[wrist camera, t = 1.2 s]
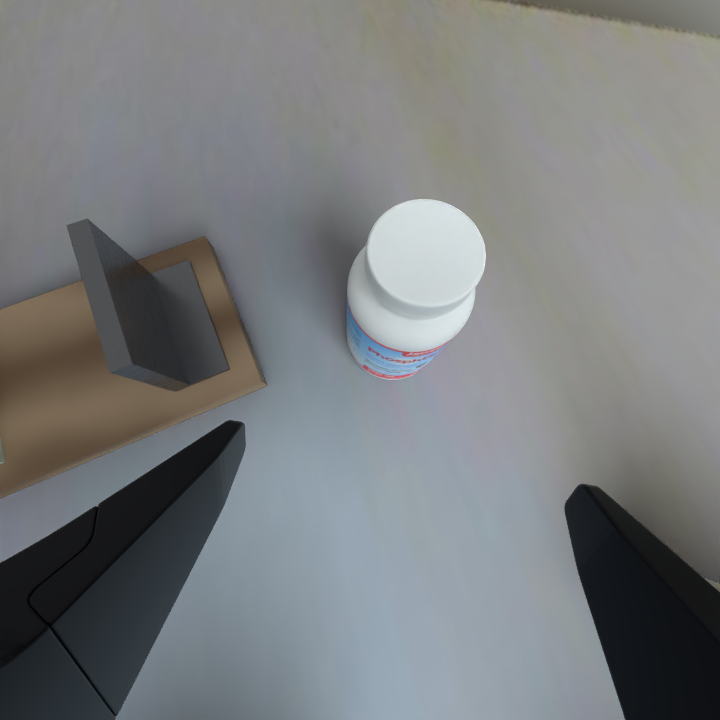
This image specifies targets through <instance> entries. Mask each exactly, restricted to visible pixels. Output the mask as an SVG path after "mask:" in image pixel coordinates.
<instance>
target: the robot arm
mask: <svg viewBox="0 0 720 720" xmlns="http://www.w3.org/2000/svg"><path fill="white" fill-rule="evenodd" d="M245 446H246V441H245V425H244V423H242V422H238V421H233V420H229V421H226V422H225V423H223V424H222V425H220V426H218V427H217V428H215V429H214V430H212V431H211V432H209V433H208V434H206V435H205V436H203V437H201V438H200V439H198V440H197V441H195V442H194V443H192V444H191V445H189V446H188V447H186V448H184V449H183V450H181V451H180V452H178V453H177V454H175V455H174V456H172V457H171V458H169V459H167V460H166V461H164V462H163V463H161V464H160V465H158V466H157V467H155V468H154V469H152V470H150V471H149V472H147V473H146V474H144V475H143V476H141V477H140V478H138V479H137V480H135V481H133V482H132V483H130V484H129V485H127V486H126V487H124V488H123V489H121V490H120V491H118V492H116V493H115V494H113V495H112V496H110V497H109V498H107V499H106V500H104V501H103V502H101V503H100V504H99V505H98V507H97V506H95V507H93V508H92V509H90V510H88V511H87V512H85V513H84V514H82V515H81V516H79V517H78V518H76V519H74V520H73V521H71V522H70V523H68V524H66V525H65V526H63V527H62V528H60V529H58V530H57V531H55V532H53V533H52V534H50V535H49V536H47V537H45V538H43V539H42V540H40V541H38V542H37V543H35V544H33V545H31V546H30V547H28V548H26V549H24V550H23V551H21V552H19V553H17V554H16V555H14V556H12V557H10V558H9V559H7V560H5V561H3V562H1V563H0V720H115V719H116V718H115V716H117V715H118V713H119V711H120V709H121V707H122V705H123V703H124V701H125V699H126V697H127V695H128V693H129V691H130V689H131V688H132V686H133V684H134V682H135V680H136V678H137V676H138V674H139V672H140V670H141V668H142V666H143V664H144V662H145V660H146V658H147V656H148V654H149V652H150V650H151V648H152V646H153V644H154V642H155V640H156V638H157V637H158V635H159V633H160V631H161V629H162V627H163V625H164V623H165V621H166V619H167V617H168V615H169V613H170V611H171V609H172V607H173V605H174V603H175V601H176V599H177V597H178V595H179V593H180V591H181V589H182V587H183V586H184V584H185V582H186V580H187V578H188V576H189V574H190V572H191V570H192V568H193V566H194V564H195V562H196V560H197V558H198V556H199V554H200V552H201V550H202V548H203V546H204V544H205V542H206V540H207V538H208V536H209V535H210V533H211V531H212V529H213V527H214V525H215V523H216V521H217V519H218V517H219V515H220V513H221V511H222V509H223V507H224V504H225V502H226V499H227V497H228V494H229V491H230V489H231V486H232V483H233V481H234V478H235V475H236V473H237V470H238V468H239V465H240V462H241V460H242V457H243V454H244V451H245ZM565 515H566V520H567V525H568V529H569V534H570V539H571V543H572V548H573V552H574V557H575V562H576V566H577V570H578V573H579V576H580V580H581V583H582V586H583V589H584V592H585V596H586V599H587V602H588V605H589V608H590V611H591V614H592V617H593V620H594V624H595V627H596V630H597V633H598V636H599V639H600V642H601V645H602V649H603V652H604V655H605V658H606V661H607V664H608V667H609V670H610V673H611V677H612V680H613V683H614V686H615V689H616V692H617V695H618V698H619V702H620V705H621V708H622V711H623V714H624V717H625V720H720V592H719V591H718V590H717V589H716V588H715V587H713V586H712V585H711V584H710V583H709V582H708V581H707V580H705V579H704V578H703V577H702V576H701V575H700V574H698V573H697V572H696V571H695V570H694V569H693V568H692V567H690V566H689V565H688V564H687V563H686V562H685V561H683V560H682V559H681V558H680V557H679V556H678V555H677V554H675V553H674V552H673V551H672V550H671V549H670V548H668V547H667V546H666V545H665V544H664V543H663V542H661V541H660V540H659V539H658V538H657V537H656V536H655V535H653V534H652V533H651V532H650V531H649V530H648V529H646V528H645V527H644V526H643V525H642V524H641V523H640V522H638V521H637V520H636V519H635V518H634V517H633V516H631V515H630V514H629V513H628V512H627V511H626V510H625V509H623V508H622V507H621V506H620V505H619V504H618V503H616V502H615V501H614V500H613V499H612V498H611V497H609V496H608V495H607V494H606V493H605V492H604V491H603V490H601V489H600V488H599V487H597V486H593V485H588V484H580V485H578V486H577V487H576V489H575V490H574V491H573V493H572V494H571V496H570V497H569V498H568V500H567V501H566V503H565Z"/></svg>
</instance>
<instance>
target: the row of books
mask: <svg viewBox="0 0 720 720" xmlns="http://www.w3.org/2000/svg"><path fill="white" fill-rule="evenodd" d="M4 462H5V458H4V453H3V449H2V444H1V439H0V464H1V463H4Z"/></svg>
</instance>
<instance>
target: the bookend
mask: <svg viewBox="0 0 720 720" xmlns="http://www.w3.org/2000/svg"><path fill="white" fill-rule="evenodd" d="M67 229H68V232H69V235H70V239H71V242H72V246H73V249H74V252H75V256H76V259H77V263H78V266H79V270H80V273H81V276H82V280H83V283H84V287H85V290H86V293H87V297H88V300H89V304H90V307H91V310H92V314H93V317H94V321H95V324H96V327H97V331H98V334H99V338H100V341H101V345H102V348H103V351H104V355H105V358H106V362H107V365H108V368H109V372H110V373H112V374H116V375H119V376H123V377H126V378H129V379H133V380H136V381H140V382H143V383H146V384H150V385H153V386H156V387H160V388H163V389H167V390H170V391H173V392H177V391H179V390H182V389H184V388H187V387H189V386H192V385H194V384H197V383H199V382H201V381H204V380H206V379H209V378H211V377H214V376H216V375H218V374H221V373H223V372H226V371H228V370H230V367H229V364H228V362H227V359H226V356H225V353H224V351H223V348H222V345H221V343H220V340H219V337H218V335H217V332H216V329H215V327H214V324H213V321H212V318H211V316H210V313H209V310H208V308H207V305H206V302H205V300H204V297H203V294H202V292H201V289H200V286H199V283H198V281H197V278H196V275H195V273H194V270H193V267H192V265H191V262H190V261H189V260H187V261H185V262H182V263H179V264H176V265H174V266H171V267H168V268H165V269H163V270H160V271H157V272H154V273H152V274H151V273H150V272H149V271H148V270H147V269H145V268H144V267H143V266H142V265H141V264H140V263H138V262H137V261H136V260H135V259H134V258H133V257H131V256H130V255H129V254H128V253H127V252H126V251H124V250H123V249H122V248H121V247H120V246H119V245H117V244H116V243H115V242H114V241H113V240H112V239H110V238H109V237H108V236H107V235H106V234H105V233H103V232H102V231H101V230H100V229H99V228H98V227H96V226H95V225H94V224H93V223H92V222H91V221H89V220H88V219H85V220H82V221H79V222H76V223H73V224H70V225H67Z"/></svg>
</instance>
